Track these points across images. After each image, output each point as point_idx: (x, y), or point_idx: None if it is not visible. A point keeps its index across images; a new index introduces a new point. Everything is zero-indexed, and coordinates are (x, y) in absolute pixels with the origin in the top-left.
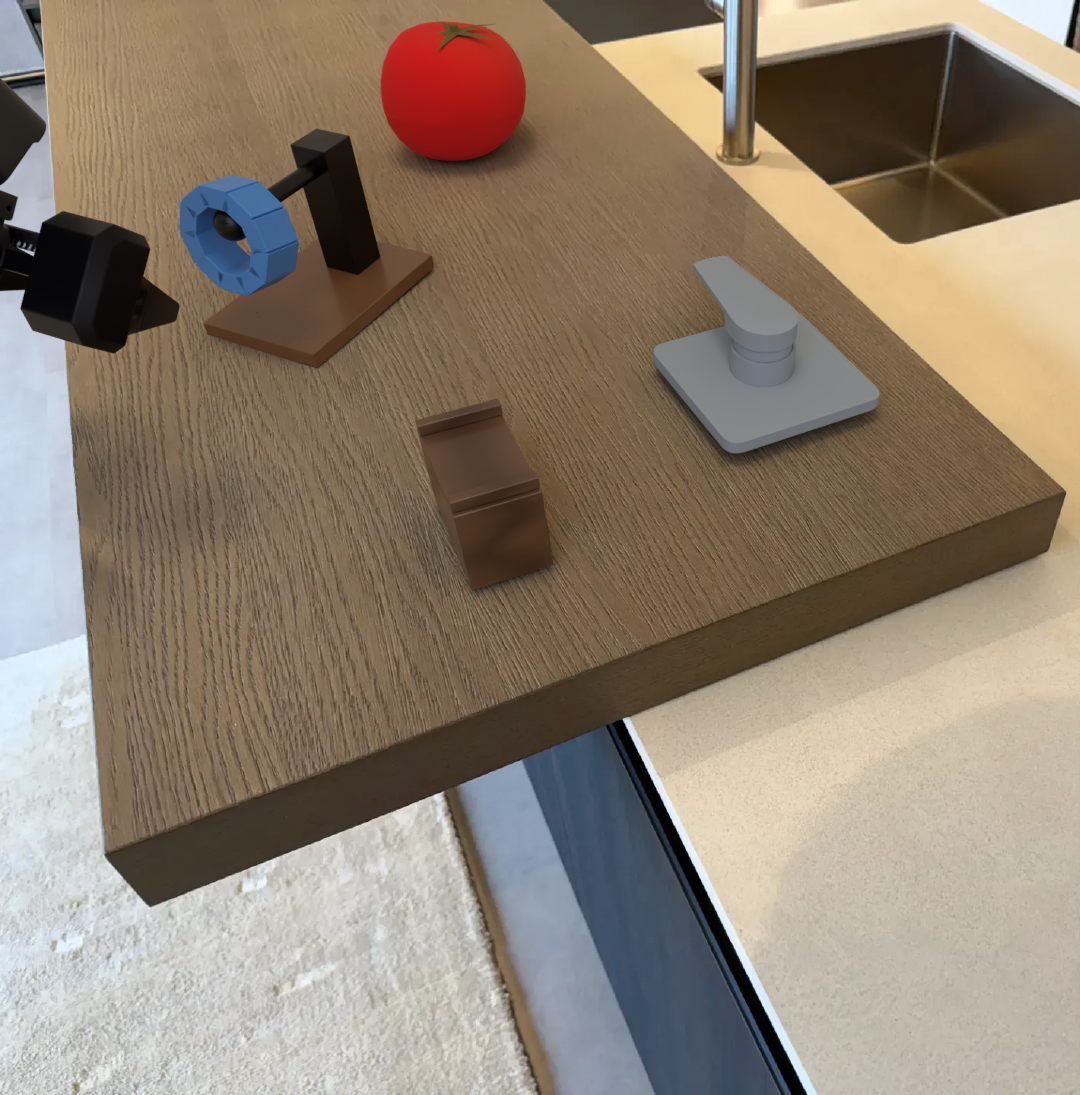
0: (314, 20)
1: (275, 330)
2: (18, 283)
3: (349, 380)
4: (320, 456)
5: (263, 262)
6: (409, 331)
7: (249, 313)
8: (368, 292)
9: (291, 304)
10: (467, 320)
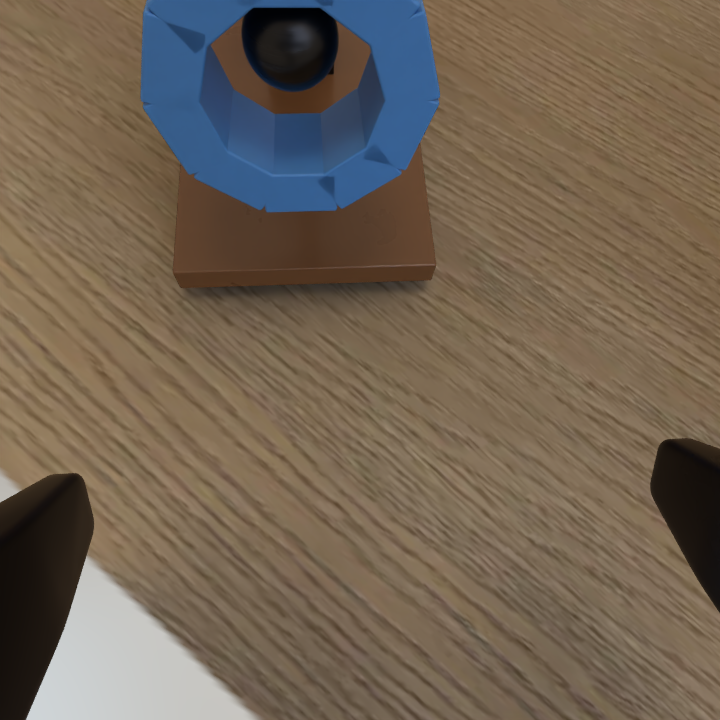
0: None
1: (319, 238)
2: (23, 686)
3: (471, 277)
4: (586, 450)
5: (418, 126)
6: (459, 149)
7: (237, 218)
8: None
9: None
10: (515, 100)
